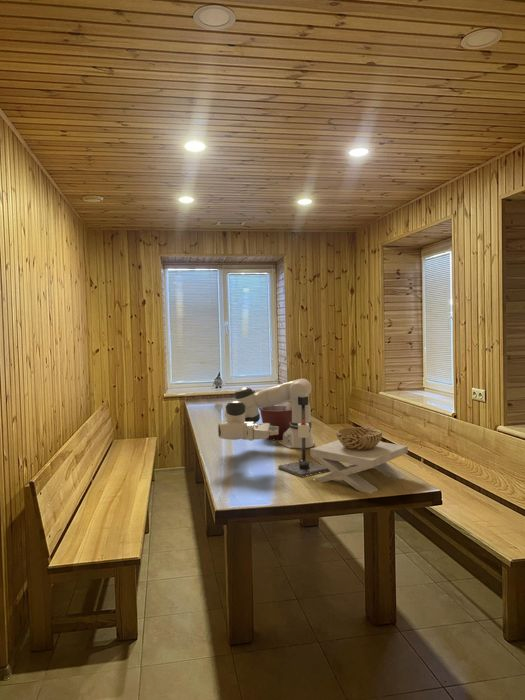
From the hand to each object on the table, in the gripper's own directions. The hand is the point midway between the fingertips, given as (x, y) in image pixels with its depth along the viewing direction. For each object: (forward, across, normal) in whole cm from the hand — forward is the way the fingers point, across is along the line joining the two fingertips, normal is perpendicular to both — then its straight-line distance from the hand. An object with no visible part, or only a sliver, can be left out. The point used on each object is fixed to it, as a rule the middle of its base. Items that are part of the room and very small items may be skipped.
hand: (278, 430), depth 251 cm
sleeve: (+12, 0, -3) cm, 12 cm away
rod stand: (+12, 0, -19) cm, 23 cm away
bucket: (-2, -72, -20) cm, 75 cm away
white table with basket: (+37, +14, -20) cm, 44 cm away
